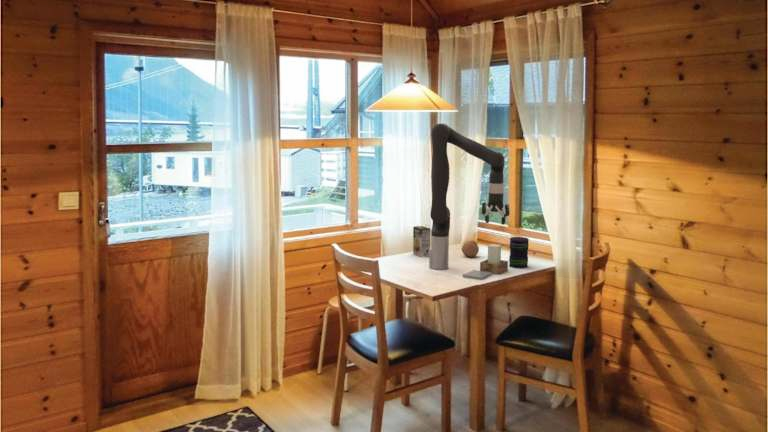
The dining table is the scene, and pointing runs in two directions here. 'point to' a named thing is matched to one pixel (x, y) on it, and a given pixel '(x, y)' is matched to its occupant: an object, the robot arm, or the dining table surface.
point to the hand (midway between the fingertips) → (495, 223)
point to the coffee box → (421, 241)
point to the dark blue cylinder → (518, 252)
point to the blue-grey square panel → (477, 274)
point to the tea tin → (494, 254)
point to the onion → (470, 249)
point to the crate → (494, 267)
